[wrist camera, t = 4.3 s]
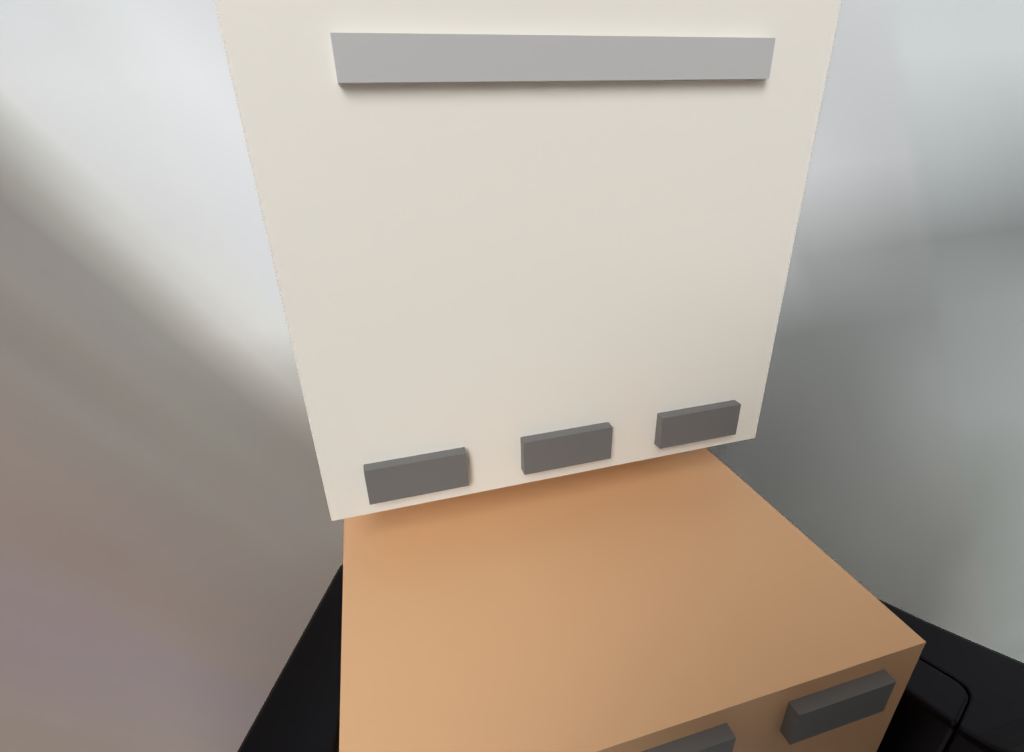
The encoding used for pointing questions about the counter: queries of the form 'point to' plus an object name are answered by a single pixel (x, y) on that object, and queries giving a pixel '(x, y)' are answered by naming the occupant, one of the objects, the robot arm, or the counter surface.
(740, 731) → the light brown cardboard box
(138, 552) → the counter surface
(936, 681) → the robot arm
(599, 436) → the white slotted tower
